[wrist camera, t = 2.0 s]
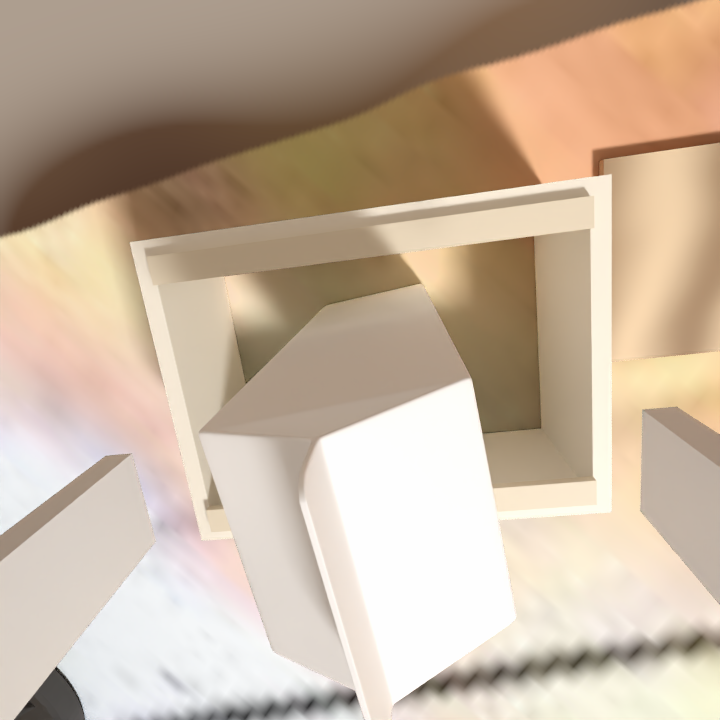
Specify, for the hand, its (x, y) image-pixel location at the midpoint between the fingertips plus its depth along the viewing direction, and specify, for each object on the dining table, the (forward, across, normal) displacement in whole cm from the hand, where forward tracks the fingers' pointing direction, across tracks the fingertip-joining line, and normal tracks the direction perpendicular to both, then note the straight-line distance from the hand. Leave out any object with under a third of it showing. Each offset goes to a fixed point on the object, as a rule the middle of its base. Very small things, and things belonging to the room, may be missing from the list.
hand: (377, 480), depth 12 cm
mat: (+17, +18, +3) cm, 25 cm away
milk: (+17, 0, 0) cm, 17 cm away
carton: (+17, 0, 0) cm, 17 cm away
